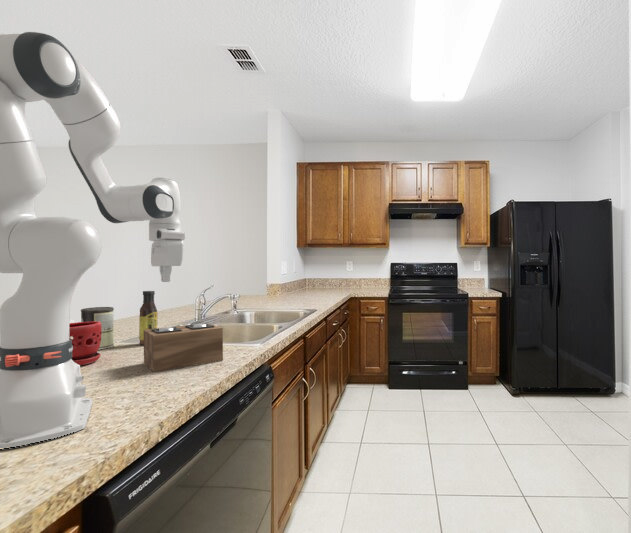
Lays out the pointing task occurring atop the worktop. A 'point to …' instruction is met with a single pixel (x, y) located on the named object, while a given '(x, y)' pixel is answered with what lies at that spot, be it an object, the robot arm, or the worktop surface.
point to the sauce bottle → (147, 314)
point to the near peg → (166, 329)
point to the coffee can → (106, 321)
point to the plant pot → (85, 341)
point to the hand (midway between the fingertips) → (165, 281)
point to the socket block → (182, 346)
